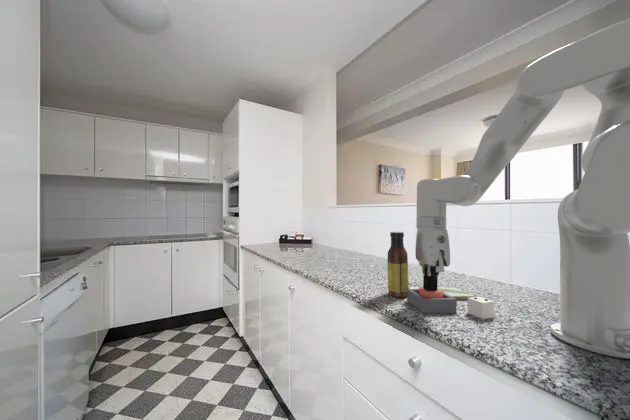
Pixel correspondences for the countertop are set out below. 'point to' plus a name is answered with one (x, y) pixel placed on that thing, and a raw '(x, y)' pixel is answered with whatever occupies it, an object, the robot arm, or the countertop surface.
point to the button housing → (432, 303)
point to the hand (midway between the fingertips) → (430, 289)
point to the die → (481, 307)
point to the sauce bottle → (397, 266)
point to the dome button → (430, 293)
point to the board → (453, 292)
